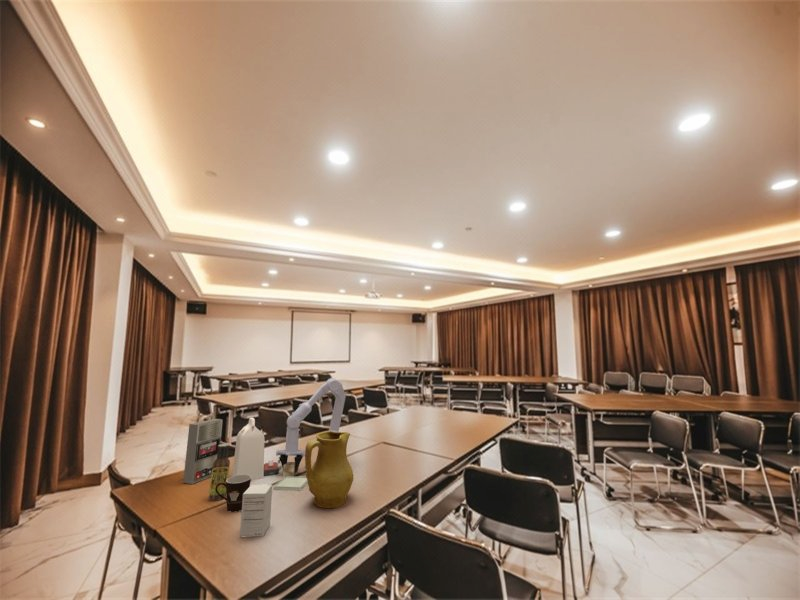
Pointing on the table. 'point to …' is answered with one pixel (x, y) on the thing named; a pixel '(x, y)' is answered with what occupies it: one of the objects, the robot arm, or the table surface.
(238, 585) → the table surface
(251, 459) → the milk
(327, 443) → the pitcher
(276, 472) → the walkie-talkie
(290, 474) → the beech cube
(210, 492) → the sauce bottle
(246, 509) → the supplement box
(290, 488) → the sage tile
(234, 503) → the coffee mug
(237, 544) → the table surface
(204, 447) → the cassette tape recorder
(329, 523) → the table surface
